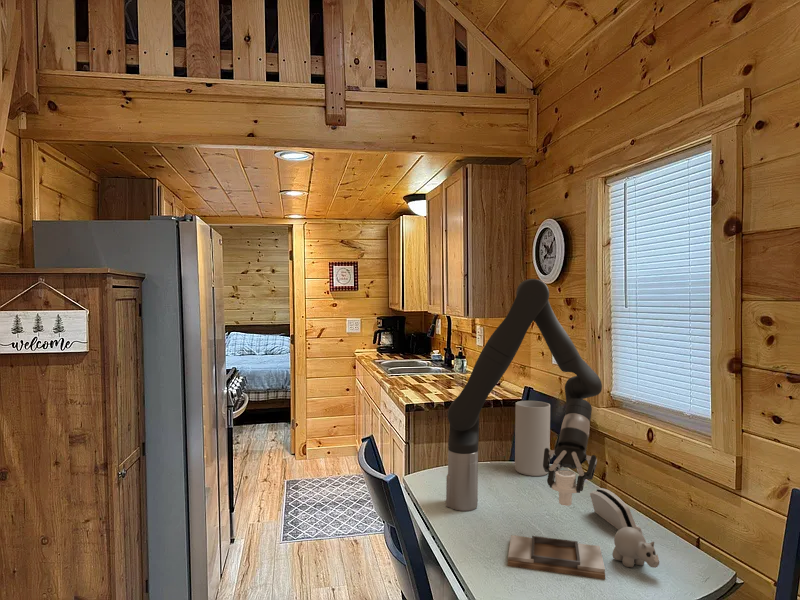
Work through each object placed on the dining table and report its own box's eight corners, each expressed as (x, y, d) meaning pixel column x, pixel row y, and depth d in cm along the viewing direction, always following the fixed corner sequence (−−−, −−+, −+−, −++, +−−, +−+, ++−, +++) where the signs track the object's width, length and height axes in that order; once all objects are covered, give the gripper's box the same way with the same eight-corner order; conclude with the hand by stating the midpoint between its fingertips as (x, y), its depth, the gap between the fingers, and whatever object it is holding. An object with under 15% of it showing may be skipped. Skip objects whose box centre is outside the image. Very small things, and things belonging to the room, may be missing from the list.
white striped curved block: (643, 534, 146) (632, 501, 146) (628, 541, 146) (617, 507, 145) (609, 510, 163) (599, 480, 162) (595, 516, 162) (585, 486, 162)
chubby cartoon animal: (644, 582, 122) (645, 545, 122) (607, 558, 133) (607, 524, 133) (669, 577, 124) (669, 540, 124) (630, 553, 136) (630, 520, 135)
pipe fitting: (583, 508, 139) (583, 477, 138) (555, 508, 138) (555, 477, 138) (574, 498, 145) (574, 469, 145) (548, 498, 145) (548, 469, 145)
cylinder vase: (552, 468, 202) (552, 402, 202) (546, 478, 191) (547, 408, 191) (518, 464, 207) (519, 399, 207) (511, 473, 196) (512, 405, 196)
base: (507, 565, 129) (507, 555, 129) (511, 540, 142) (511, 530, 142) (605, 579, 123) (605, 568, 123) (599, 551, 137) (599, 541, 136)
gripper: (546, 423, 151) (534, 477, 141) (599, 429, 144) (591, 487, 134) (550, 437, 156) (539, 490, 146) (603, 444, 149) (594, 501, 139)
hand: (564, 488), depth 140 cm, fingers closed on pipe fitting, 6 cm apart
